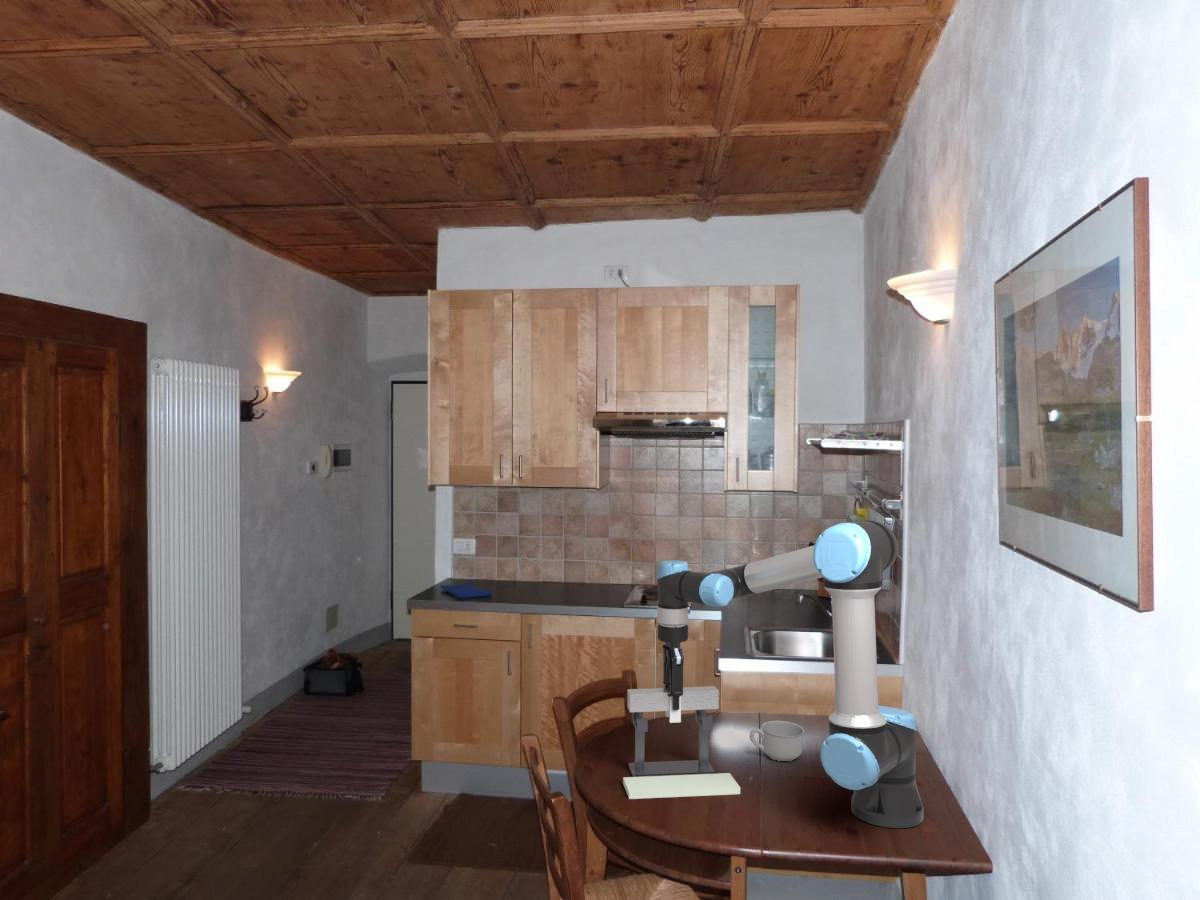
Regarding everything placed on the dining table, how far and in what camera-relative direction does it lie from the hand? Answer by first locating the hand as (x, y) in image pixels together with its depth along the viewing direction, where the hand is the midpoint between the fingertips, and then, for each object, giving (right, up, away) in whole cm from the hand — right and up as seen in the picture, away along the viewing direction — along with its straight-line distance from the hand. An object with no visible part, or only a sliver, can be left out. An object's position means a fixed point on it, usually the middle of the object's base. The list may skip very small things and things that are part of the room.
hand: (673, 718), depth 217 cm
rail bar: (0, +3, 0) cm, 3 cm away
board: (+1, -13, -10) cm, 17 cm away
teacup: (+28, -14, +11) cm, 33 cm away
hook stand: (0, -13, 0) cm, 13 cm away
